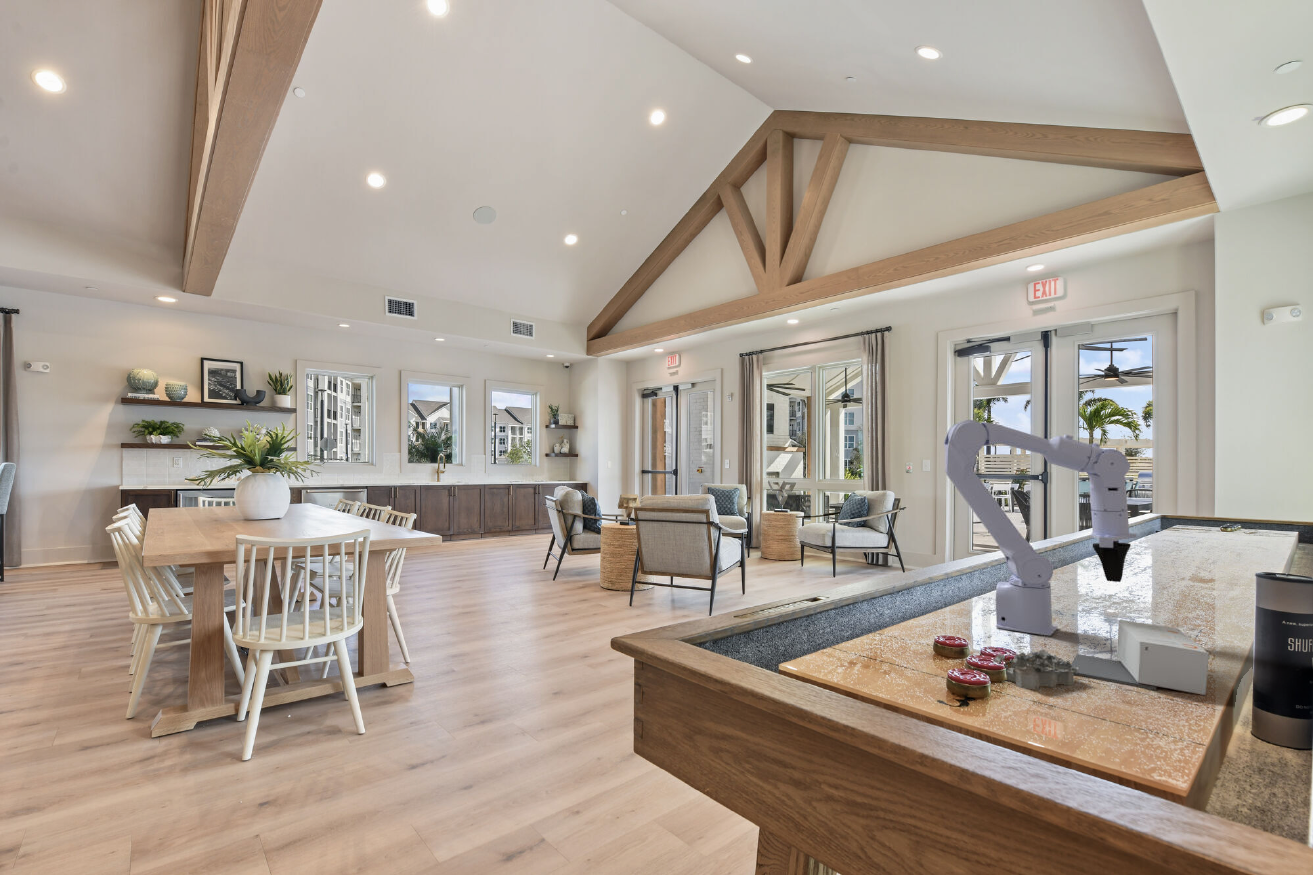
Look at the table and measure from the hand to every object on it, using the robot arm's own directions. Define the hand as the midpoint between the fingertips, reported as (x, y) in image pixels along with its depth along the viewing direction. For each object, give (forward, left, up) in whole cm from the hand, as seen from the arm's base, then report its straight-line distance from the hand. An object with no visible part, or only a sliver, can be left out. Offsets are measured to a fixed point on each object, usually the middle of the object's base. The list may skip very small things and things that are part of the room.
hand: (1114, 580), depth 118 cm
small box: (+6, -18, -7) cm, 20 cm away
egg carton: (-7, -37, -11) cm, 39 cm away
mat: (+2, -26, -10) cm, 28 cm away
